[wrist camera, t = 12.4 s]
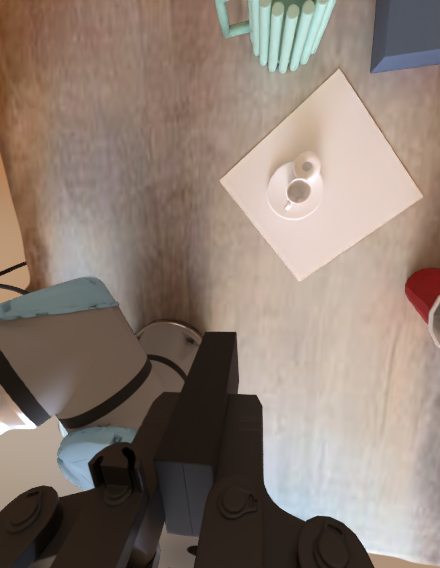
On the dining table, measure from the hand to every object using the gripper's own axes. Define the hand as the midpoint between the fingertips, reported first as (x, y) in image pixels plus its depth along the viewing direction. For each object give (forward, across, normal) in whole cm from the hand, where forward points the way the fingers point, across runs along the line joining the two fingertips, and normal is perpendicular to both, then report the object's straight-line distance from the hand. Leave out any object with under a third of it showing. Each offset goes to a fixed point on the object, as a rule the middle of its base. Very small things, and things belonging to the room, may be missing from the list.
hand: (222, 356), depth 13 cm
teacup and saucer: (+31, -10, -8) cm, 33 cm away
